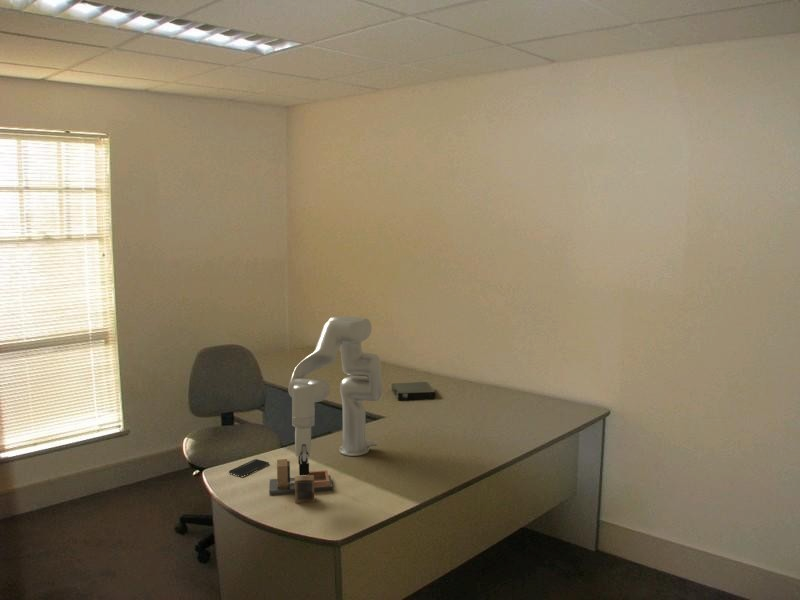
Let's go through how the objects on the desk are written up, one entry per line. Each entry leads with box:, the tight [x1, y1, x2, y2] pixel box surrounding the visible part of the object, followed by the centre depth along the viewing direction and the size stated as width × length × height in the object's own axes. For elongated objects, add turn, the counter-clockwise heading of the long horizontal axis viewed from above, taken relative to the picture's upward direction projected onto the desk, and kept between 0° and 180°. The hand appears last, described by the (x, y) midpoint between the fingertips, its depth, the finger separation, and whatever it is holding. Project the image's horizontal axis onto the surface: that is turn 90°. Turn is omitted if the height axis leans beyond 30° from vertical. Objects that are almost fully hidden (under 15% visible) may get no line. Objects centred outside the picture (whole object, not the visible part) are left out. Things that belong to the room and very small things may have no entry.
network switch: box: [391, 381, 437, 402], centre depth 344 cm, size 23×23×5 cm
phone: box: [228, 458, 270, 476], centre depth 240 cm, size 8×1×15 cm
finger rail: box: [268, 458, 333, 496], centre depth 224 cm, size 22×10×10 cm, turn 101°
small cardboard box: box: [294, 475, 315, 504], centre depth 213 cm, size 6×4×8 cm
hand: (303, 469), depth 211 cm, fingers open, 9 cm apart
